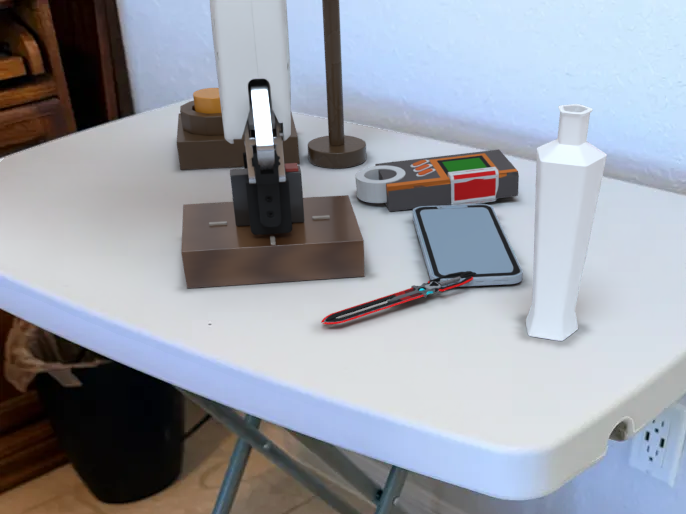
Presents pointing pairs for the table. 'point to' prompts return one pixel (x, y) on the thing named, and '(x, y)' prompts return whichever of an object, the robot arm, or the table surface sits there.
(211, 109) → the power button
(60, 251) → the table surface
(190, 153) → the button base
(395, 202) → the electronic device
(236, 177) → the dimmer knob
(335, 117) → the lamp
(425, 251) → the smartphone
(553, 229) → the white vase
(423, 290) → the toy sword
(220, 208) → the panel
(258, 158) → the robot arm
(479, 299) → the table surface
